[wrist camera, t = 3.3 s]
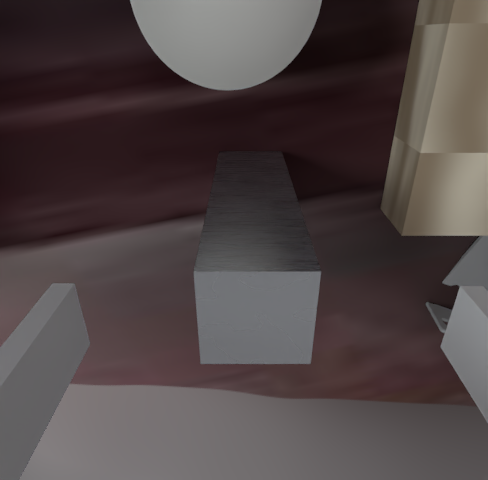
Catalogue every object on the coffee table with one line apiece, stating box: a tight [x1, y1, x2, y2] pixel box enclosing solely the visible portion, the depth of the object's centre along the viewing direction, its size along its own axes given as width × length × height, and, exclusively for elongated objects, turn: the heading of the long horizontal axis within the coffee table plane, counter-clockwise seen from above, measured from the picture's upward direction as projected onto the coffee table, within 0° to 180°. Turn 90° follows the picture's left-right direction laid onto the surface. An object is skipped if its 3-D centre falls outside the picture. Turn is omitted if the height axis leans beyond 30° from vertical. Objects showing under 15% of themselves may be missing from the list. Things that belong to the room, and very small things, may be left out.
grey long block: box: [194, 151, 321, 364], centre depth 19 cm, size 4×4×14 cm
